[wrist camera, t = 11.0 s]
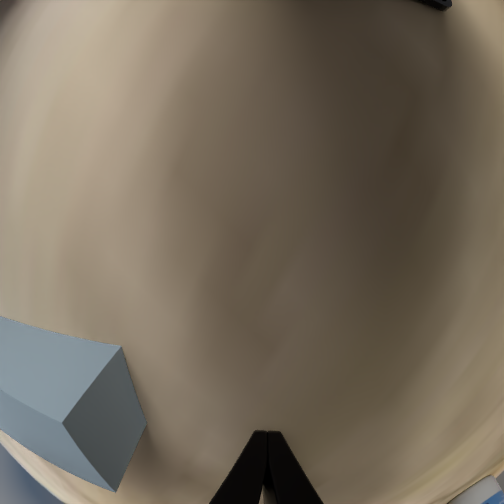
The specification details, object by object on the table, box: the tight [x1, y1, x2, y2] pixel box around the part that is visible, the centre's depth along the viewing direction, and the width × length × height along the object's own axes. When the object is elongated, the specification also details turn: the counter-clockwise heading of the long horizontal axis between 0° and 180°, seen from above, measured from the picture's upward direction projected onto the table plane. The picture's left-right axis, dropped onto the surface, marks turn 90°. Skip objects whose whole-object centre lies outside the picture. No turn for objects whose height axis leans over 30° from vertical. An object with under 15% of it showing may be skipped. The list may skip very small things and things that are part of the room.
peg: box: [0, 316, 147, 493], centre depth 7 cm, size 8×4×4 cm, turn 90°
